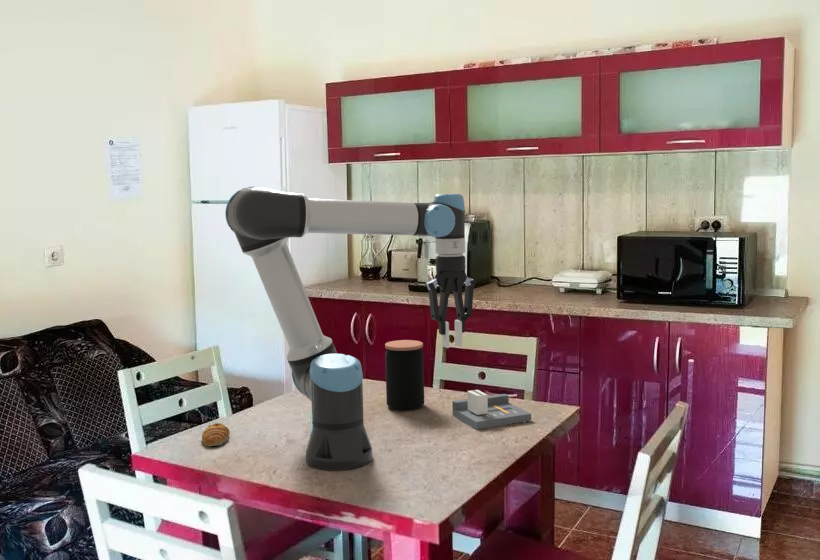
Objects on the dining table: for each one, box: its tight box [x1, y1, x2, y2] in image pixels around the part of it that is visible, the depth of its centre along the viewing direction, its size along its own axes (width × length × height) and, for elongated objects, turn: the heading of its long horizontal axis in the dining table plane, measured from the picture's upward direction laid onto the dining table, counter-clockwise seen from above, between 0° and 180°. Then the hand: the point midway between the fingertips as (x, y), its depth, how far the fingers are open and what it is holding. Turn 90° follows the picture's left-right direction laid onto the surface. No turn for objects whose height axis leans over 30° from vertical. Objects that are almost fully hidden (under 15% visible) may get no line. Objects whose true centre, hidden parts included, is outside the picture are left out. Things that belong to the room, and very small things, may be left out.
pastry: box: [201, 422, 231, 448], centre depth 203 cm, size 9×7×4 cm
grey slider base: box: [452, 393, 532, 431], centre depth 216 cm, size 16×14×4 cm
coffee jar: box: [384, 339, 425, 412], centre depth 229 cm, size 11×11×18 cm
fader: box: [467, 389, 489, 415], centre depth 214 cm, size 3×6×5 cm, turn 22°
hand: (452, 346), depth 210 cm, fingers open, 3 cm apart
